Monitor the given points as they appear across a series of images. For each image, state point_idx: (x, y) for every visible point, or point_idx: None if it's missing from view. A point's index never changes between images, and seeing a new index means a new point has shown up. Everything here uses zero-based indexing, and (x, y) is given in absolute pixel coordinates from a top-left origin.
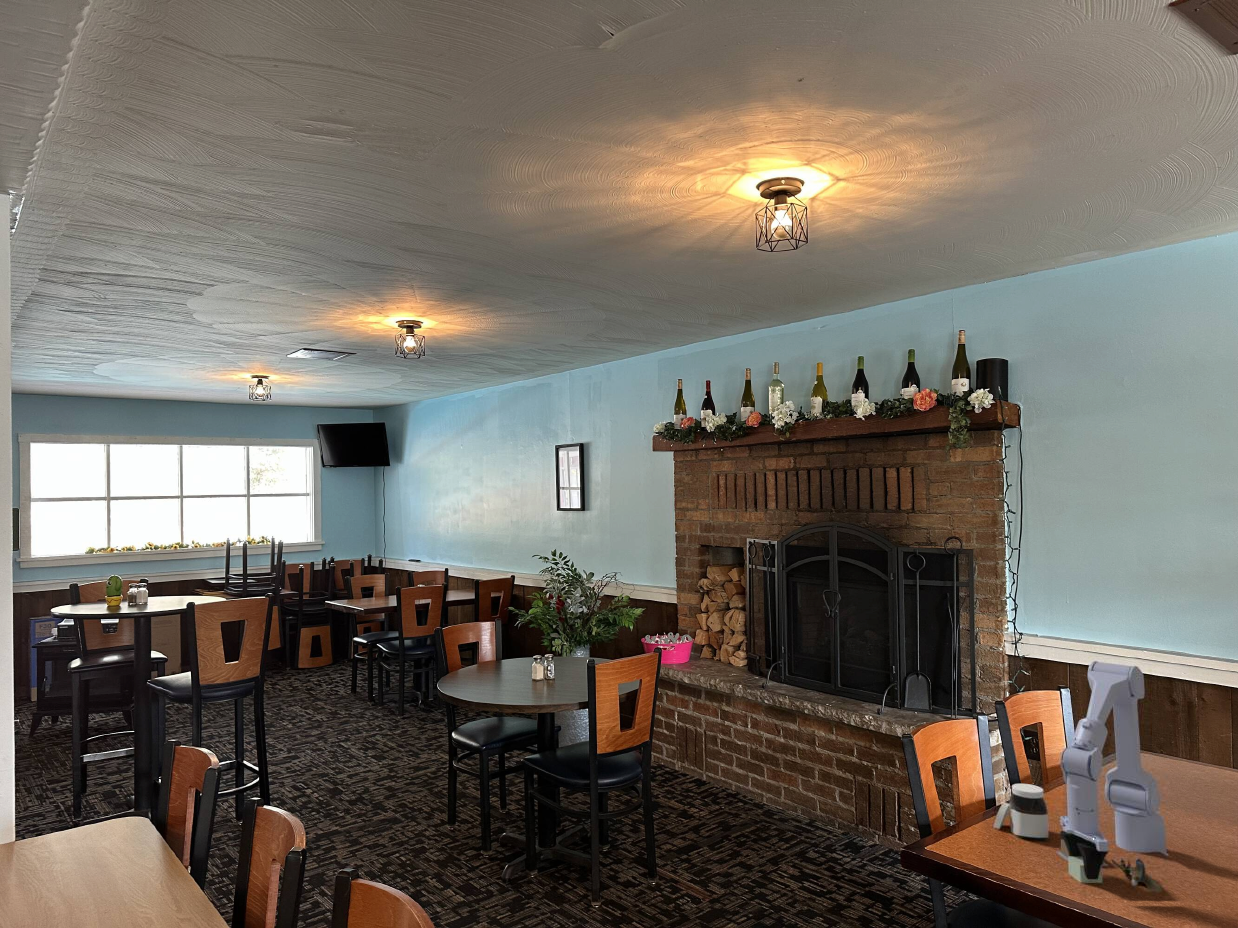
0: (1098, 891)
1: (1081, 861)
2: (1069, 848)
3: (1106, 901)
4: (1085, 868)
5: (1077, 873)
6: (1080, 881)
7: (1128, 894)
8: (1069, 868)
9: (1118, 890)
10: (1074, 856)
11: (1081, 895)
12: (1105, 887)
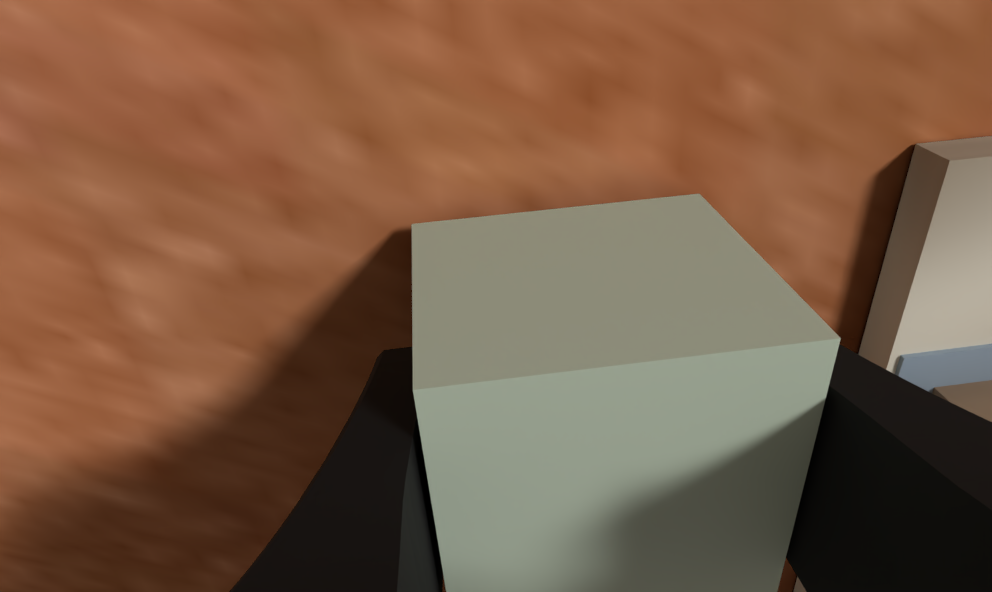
0: (312, 354)
1: (596, 461)
2: (948, 474)
3: (22, 336)
4: (372, 425)
5: (494, 274)
6: (415, 243)
7: None
8: (715, 241)
9: None
10: (816, 431)
11: (109, 105)
12: None
